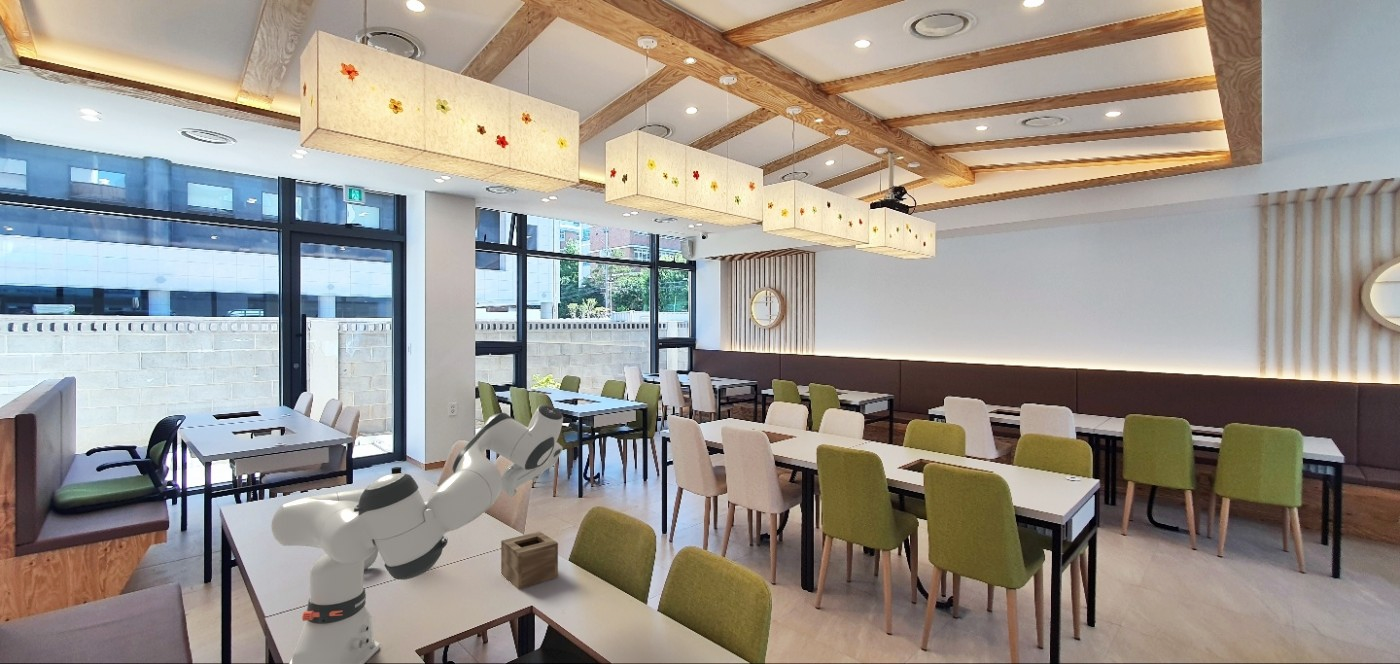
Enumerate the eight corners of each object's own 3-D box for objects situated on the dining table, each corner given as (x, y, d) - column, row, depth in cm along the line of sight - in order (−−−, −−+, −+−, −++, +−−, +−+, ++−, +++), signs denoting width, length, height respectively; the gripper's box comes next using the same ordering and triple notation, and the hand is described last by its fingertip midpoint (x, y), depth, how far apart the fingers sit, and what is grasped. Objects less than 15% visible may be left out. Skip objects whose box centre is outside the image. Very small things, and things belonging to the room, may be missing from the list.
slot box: (557, 577, 189) (557, 542, 189) (518, 589, 181) (518, 553, 181) (539, 564, 199) (539, 531, 199) (501, 575, 191) (501, 540, 191)
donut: (347, 577, 188) (347, 545, 188) (342, 574, 190) (342, 543, 190) (380, 567, 196) (379, 536, 196) (375, 564, 198) (375, 534, 198)
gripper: (516, 475, 162) (504, 510, 168) (567, 445, 179) (554, 478, 185) (500, 461, 164) (488, 496, 170) (551, 433, 181) (539, 466, 187)
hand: (523, 487), depth 178 cm, fingers open, 8 cm apart
